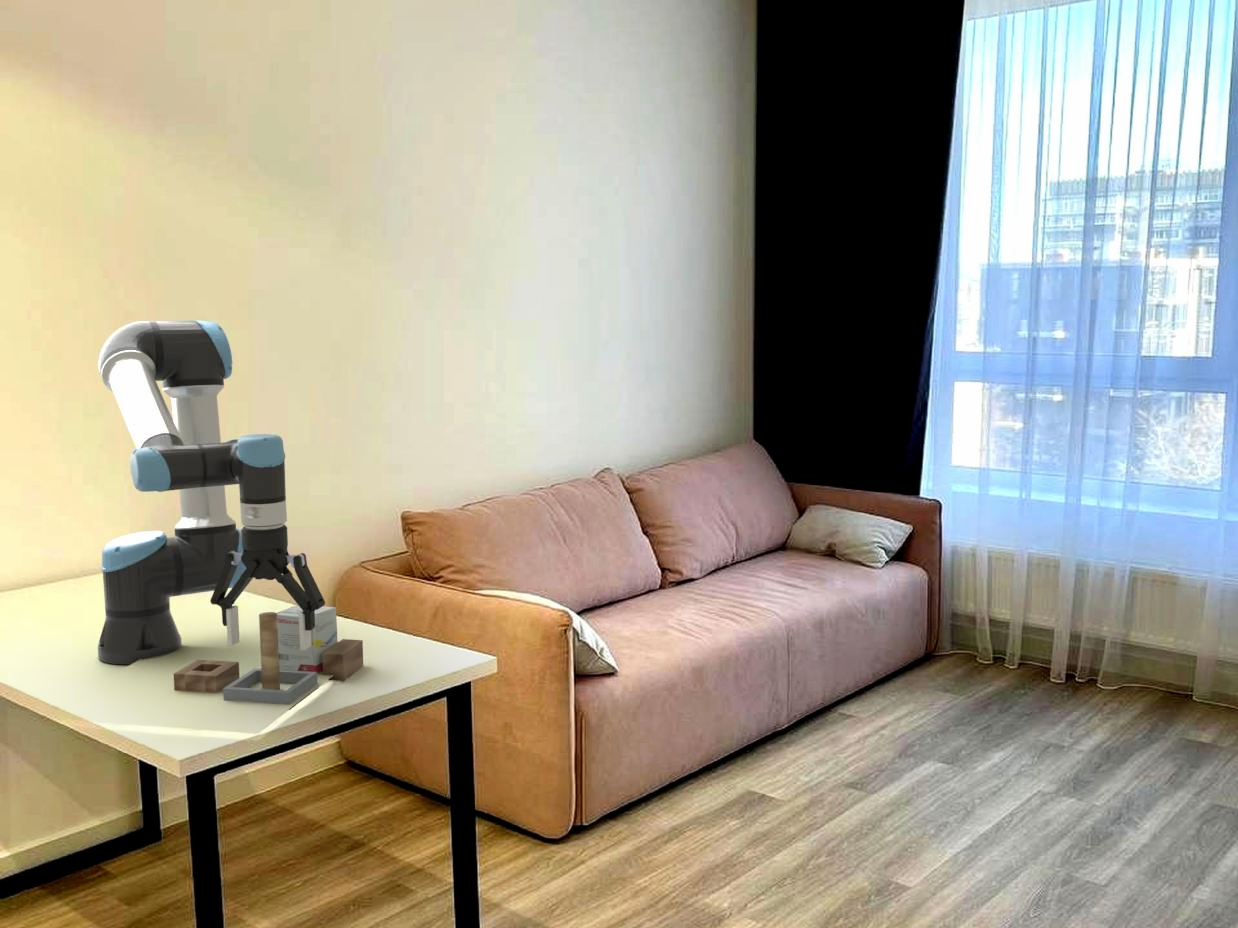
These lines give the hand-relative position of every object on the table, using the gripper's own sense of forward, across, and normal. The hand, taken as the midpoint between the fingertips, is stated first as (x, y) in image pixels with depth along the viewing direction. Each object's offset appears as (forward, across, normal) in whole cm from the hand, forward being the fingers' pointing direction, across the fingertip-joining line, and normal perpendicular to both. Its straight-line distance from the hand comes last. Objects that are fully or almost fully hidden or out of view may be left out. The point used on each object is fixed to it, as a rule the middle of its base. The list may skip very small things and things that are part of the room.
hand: (269, 646), depth 200 cm
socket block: (+9, -13, +2) cm, 16 cm away
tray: (+9, 0, 0) cm, 9 cm away
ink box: (+9, 0, +14) cm, 17 cm away
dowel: (+8, 0, 0) cm, 8 cm away
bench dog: (+9, +7, +14) cm, 19 cm away
